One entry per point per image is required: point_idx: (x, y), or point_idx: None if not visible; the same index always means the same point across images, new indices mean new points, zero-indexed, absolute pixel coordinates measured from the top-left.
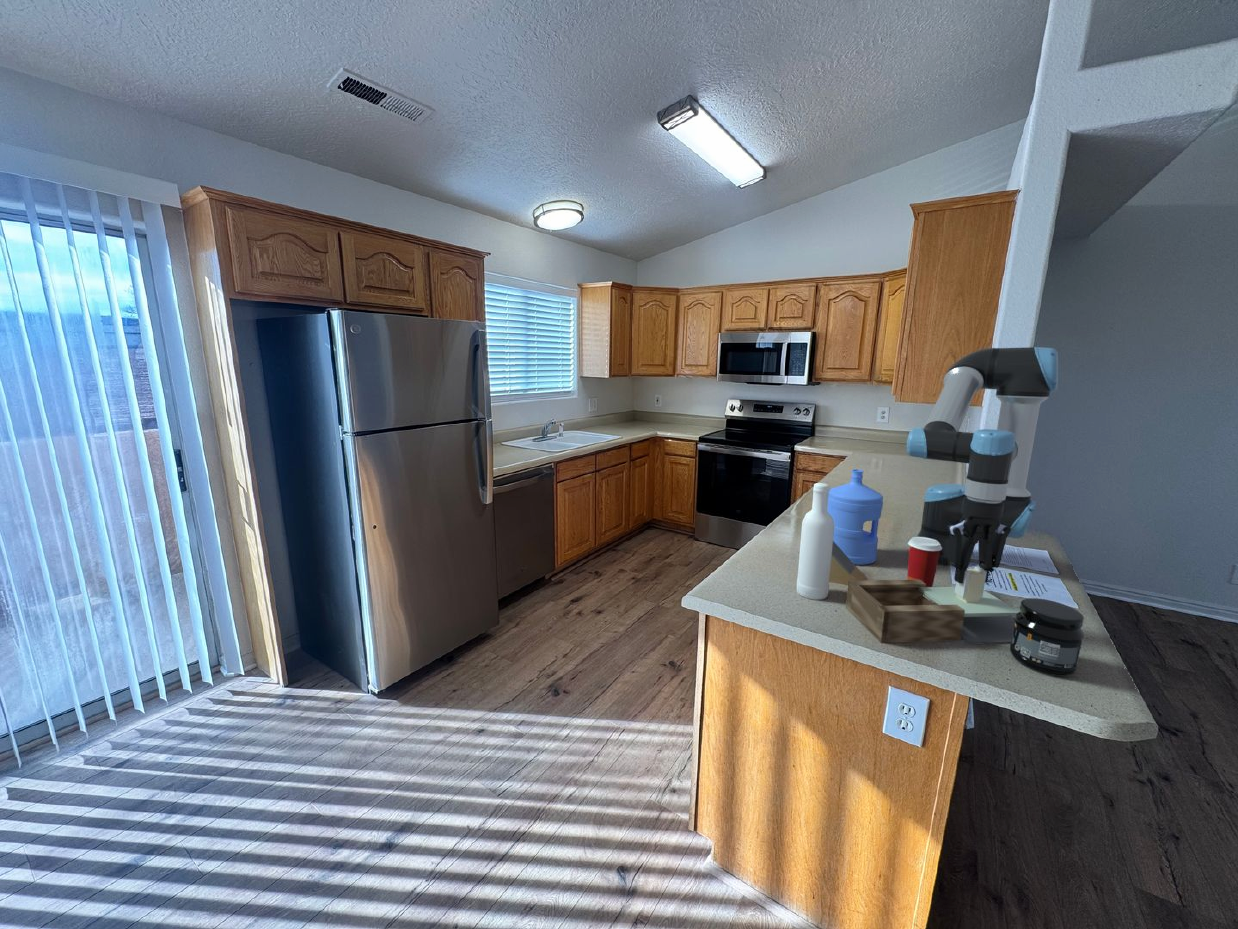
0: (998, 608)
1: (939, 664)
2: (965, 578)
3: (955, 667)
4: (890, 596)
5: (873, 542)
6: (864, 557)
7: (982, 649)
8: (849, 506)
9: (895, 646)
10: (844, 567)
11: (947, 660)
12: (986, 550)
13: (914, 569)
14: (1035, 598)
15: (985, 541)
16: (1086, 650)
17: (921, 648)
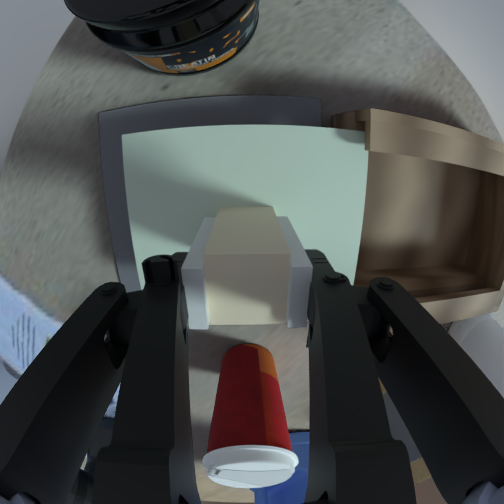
0: (181, 160)
1: (431, 53)
2: (302, 251)
3: (408, 35)
4: (421, 283)
5: None
6: (294, 444)
7: (301, 73)
8: None
9: (470, 127)
10: None
11: (410, 57)
12: (174, 381)
13: (280, 399)
14: (125, 13)
15: (178, 475)
16: (53, 94)
17: (434, 106)
